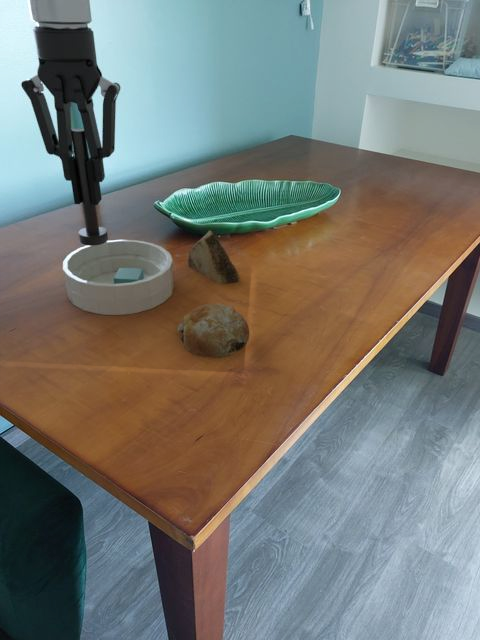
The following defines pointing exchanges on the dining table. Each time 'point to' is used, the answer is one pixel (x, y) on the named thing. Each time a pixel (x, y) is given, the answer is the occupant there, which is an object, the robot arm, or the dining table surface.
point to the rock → (212, 260)
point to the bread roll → (214, 331)
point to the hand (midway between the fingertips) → (88, 201)
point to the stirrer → (86, 193)
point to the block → (128, 275)
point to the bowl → (100, 269)
